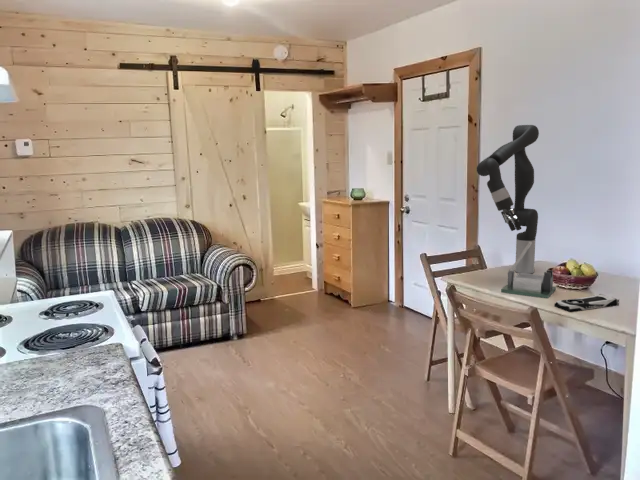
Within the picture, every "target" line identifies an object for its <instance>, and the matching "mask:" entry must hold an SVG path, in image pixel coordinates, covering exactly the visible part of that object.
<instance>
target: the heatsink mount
mask: <svg viewBox="0 0 640 480" xmlns="http://www.w3.org/2000/svg"><path fill="white" fill-rule="evenodd" d="M553 271H554V270H548V269H547V270H546V271H545V272H543V275H542V274H535V273H530V274H527V273H517V274H516V275H515V270H514V271H513V272H509V271H508V272H507V284H506V285H505V286H503V287H502V288H501V289H500V292H501V293H504V294H509V295H510V294H512V295H518V296H519V295H520V296H527V297H534V298H543V299H549V298H550V296H551V295H552V294H553V293H554V292H555V291H556V286H554V285H553V284H554V274H553Z"/></svg>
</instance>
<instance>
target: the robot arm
mask: <svg viewBox="0 0 640 480" xmlns="http://www.w3.org/2000/svg"><path fill="white" fill-rule="evenodd" d="M539 135H540V133H539V128H538V127H537V126H536V125H534V124H521V125H520V124H519V125H516V126H515V127H514V128H513V130H512V140H511V141H510V142H506V143H505V144H503V145H501V146H500V147H498V148H497V149H496V150H495V151H494V152H492V153H491V154H490V155H489V156H488V157H485V158H484V159H483V160H482V161H480V162H479V163H478V164H477V167H476V173H477V174H478V175H479V176H481V177H486V176H489V180H488V181H487V182H486V185H487V187H488V190H489V193H490V195H491V198H492V200H493V202H494V204H495V206H496V209H497V211H498V212H500V214H501V216H502V218H503V221H504V223H505V224H507V225H508V227H509V230H510V231H511V232H513V231H515V230H516V231H520V230H522V227H526V228H525V230H524V231H522V232H519V233H516V235H515V236H516V238H515V240H516V241H515V247H516V248H515V262H516V261H517V259H518V258H519V256H520V255H521V253H522V252H523V250H524V249H525V247H526V246H527V245H528V243H529V242H531V243H532V244H531V245H530V247H529V248H528V250H527V251H526V253H525V254H524V256H523V257H522V259H521V260H520V261H519V263H518V264H517V266H516V267H515V269H514V273H517V274H519V273H527V274H535V260H536V257H535V256H536V237H537V233H538V223H539V213H538V211H537V210H536V209H534V208H526V207H525V201H526V197H527V196H528V194H529V193H530V191H531V189H532V188H533V186H534V183H535V169H534V166H533V164H532V162H531V161H530V159H529V157H528V155H527V152H526V148H527V147H529V146H530V145H532V144H534V143H535V142H537V140H538V138H539ZM513 156H514V201H513V199H512V197H511V195H510V193H509V191H508V190H507V188H506V187H505V186H506V185H505V184H504V181H503V179H502V173H501V168H500V166H501V165H503V164H504V163H506V162H507V161H508V160H509V159H510V158H512V157H513ZM513 205H514V206H513ZM512 207H513V208H512Z"/></svg>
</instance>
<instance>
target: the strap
mask: <svg viewBox="0 0 640 480" xmlns="http://www.w3.org/2000/svg"><path fill="white" fill-rule="evenodd" d="M531 244H532V243H531V242H529V243H528V245H527V246H526V247H525V249H524V250H523V252H522V253H521V255H520V256H519V258H518V259H517V261H516V260H515V262H514V263H513V265H512V266H511V268H510V269H509V270H508V272H513V271H514V272H515V267H516V266H517V264H518V263H519V261H520V260H521V259H522V257H523V256H524V254H525V253H526V251H527V250H528V248H529V247H530V245H531Z"/></svg>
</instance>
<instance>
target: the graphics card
mask: <svg viewBox="0 0 640 480" xmlns="http://www.w3.org/2000/svg"><path fill="white" fill-rule="evenodd" d="M553 305H554V307H555V308H557V309H561V310H563V311H565V312H568V313H573V312H583V311H588V310H594V309H595V310H596V309H601V308H602V309H603V308H609V307H616V306H617V307H618V306H620V299H617V298H615V297H613V296H609V295H605V294H602V293H599V294H596V295H591V296H585V297H577V298H570V299H569V298H568V299H561V300H557V301H555V302H554V304H553Z"/></svg>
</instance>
